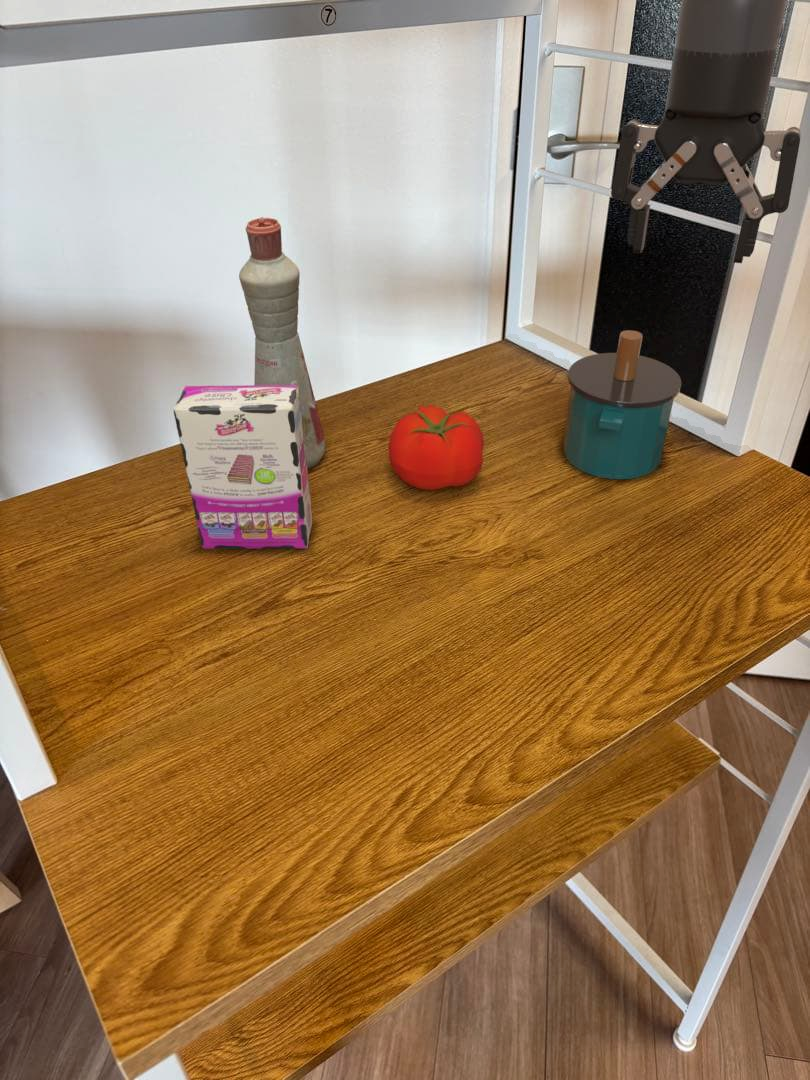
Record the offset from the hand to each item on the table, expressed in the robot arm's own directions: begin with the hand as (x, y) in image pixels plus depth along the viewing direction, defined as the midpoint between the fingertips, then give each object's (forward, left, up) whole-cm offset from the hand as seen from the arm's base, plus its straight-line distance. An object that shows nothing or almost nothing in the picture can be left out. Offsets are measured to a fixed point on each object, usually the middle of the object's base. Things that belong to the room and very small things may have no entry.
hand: (687, 255), depth 73 cm
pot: (+4, -11, -28) cm, 30 cm away
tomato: (+22, +1, -28) cm, 36 cm away
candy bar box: (+36, +18, -28) cm, 49 cm away
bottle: (+40, +3, -28) cm, 49 cm away
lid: (+4, -11, -18) cm, 22 cm away
